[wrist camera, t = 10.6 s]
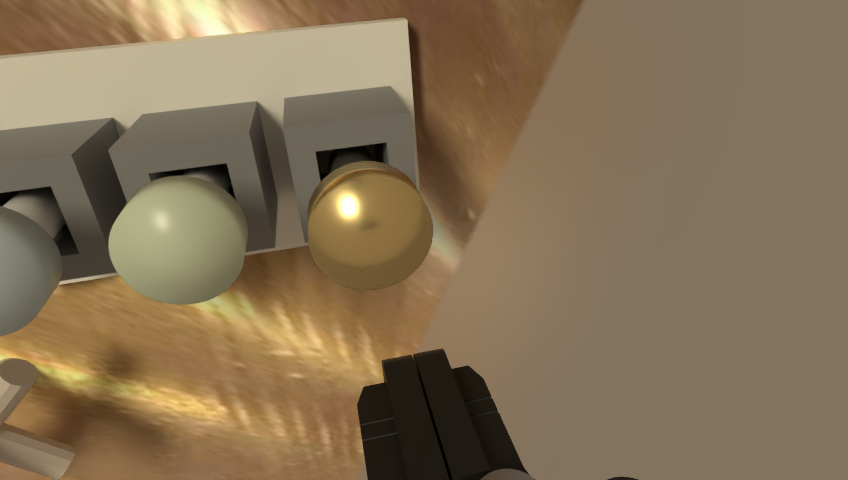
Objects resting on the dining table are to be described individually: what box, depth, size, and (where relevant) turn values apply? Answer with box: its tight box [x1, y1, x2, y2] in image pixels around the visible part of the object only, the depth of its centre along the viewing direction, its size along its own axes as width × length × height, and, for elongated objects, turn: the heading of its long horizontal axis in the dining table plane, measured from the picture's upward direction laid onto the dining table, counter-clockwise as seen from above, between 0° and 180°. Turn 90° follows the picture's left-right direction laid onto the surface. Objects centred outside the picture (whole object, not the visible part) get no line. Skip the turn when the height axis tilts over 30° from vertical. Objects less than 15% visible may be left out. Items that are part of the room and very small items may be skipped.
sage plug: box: [108, 163, 248, 304], centre depth 23 cm, size 5×5×8 cm
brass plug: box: [307, 145, 433, 290], centre depth 23 cm, size 5×5×8 cm
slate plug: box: [0, 186, 66, 336], centre depth 22 cm, size 5×5×8 cm
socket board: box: [0, 18, 420, 285], centre depth 27 cm, size 12×22×7 cm, turn 94°
